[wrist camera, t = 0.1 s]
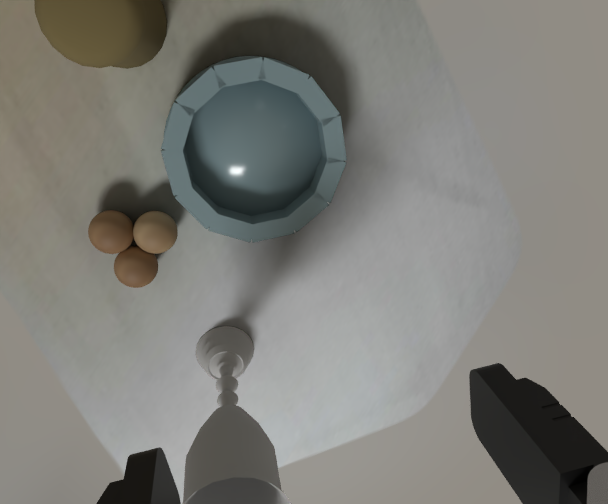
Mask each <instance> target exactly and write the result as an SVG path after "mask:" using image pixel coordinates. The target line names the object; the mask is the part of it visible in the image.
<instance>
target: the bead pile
mask: <svg viewBox="0 0 608 504" xmlns="http://www.w3.org/2000/svg"><path fill="white" fill-rule="evenodd" d="M88 234H89V238H90V241H91V243H92V244H93V245H94V246H95V247H96V248H97V249H98V250H100V251H102V252H104V253H109V254H115V253H119V252H120V253H119V254H118V255H117V257H116V259H115V263H114V271H115V274H116V276H117V278H118V280H119V281H120V282H121V283H123V284H124V285H126V286H129V287H134V288H138V287H143V286H145V285H147V284H149V283H150V282H151V281H152V280H153V279H154V278H155V276H156V274H157V271H158V262H157V259H156V257H155V255H154V254H157V253H162V252H165V251H167V250H168V249H170V248H171V247H172V246H173V245H174V243H175V241H176V239H177V226H176V224H175V222H174V220H173V219H172V218H171V217H170V216H169V215H168V214H166V213H164V212H161V211H149V212H146V213H144V214H143V215H141V216H140V217H139V218H138V219H137V221H136V222H135V224H134V225H133V223H132V221H131V220H130V219H129V217H127V216H126V215H125V214H123V213H121V212H119V211H114V210H108V211H104V212H101V213H99V214H98V215H96V216H95V217H94V218H93V219H92V221H91V223H90V225H89V230H88ZM133 239H134V240H135V242H136V243H137V245H138V246H130V245H131V243H132V241H133ZM129 246H130V247H129ZM153 253H154V254H153Z"/></svg>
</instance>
